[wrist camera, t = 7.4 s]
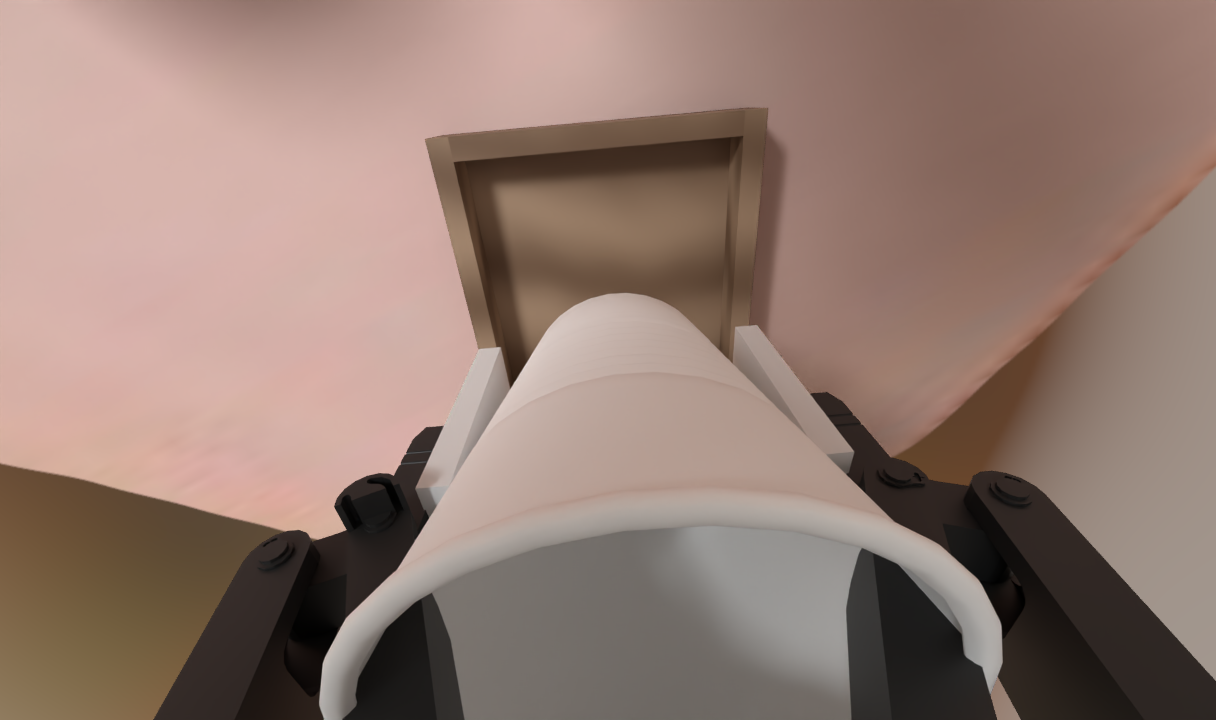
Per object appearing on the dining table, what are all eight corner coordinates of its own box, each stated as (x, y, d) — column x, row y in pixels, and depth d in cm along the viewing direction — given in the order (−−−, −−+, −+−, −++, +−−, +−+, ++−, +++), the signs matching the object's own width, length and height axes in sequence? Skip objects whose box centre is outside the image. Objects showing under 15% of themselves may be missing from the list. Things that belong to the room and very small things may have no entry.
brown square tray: (443, 135, 22) (424, 139, 19) (748, 107, 22) (768, 107, 19) (503, 388, 29) (495, 414, 27) (729, 369, 29) (742, 393, 27)
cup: (758, 208, 14) (1150, 442, 4) (753, 451, 19) (925, 817, 9) (444, 256, 14) (136, 573, 5) (519, 482, 19) (448, 864, 9)
